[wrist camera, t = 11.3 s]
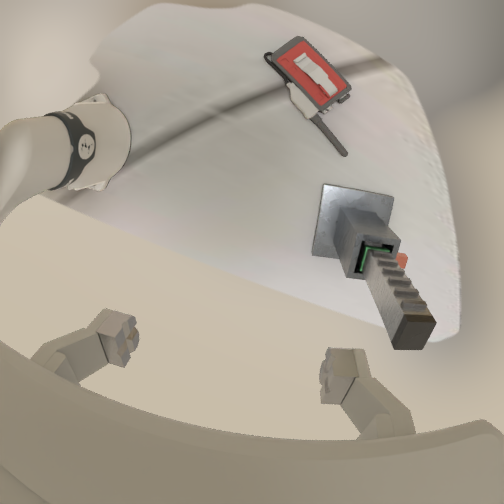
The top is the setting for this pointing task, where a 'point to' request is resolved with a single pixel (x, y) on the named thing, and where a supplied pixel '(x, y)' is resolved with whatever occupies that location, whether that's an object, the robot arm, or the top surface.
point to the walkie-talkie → (310, 82)
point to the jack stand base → (354, 226)
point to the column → (395, 298)
